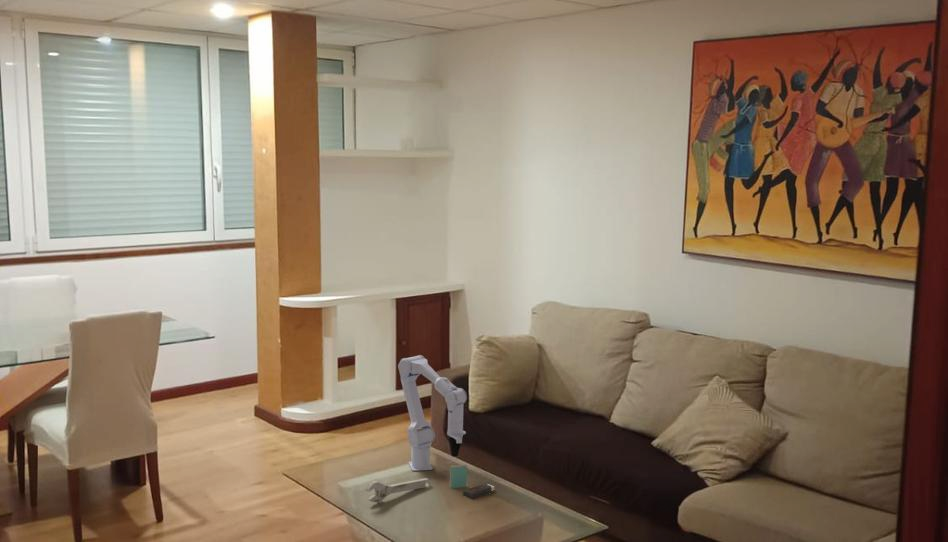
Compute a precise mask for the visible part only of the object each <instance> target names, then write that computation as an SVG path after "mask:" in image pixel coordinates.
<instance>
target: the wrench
mask: <svg viewBox="0 0 948 542" xmlns="http://www.w3.org/2000/svg"><path fill="white" fill-rule="evenodd" d="M431 483H432V482H431V479H429V478H426V477H425V478H419V479H413V480H408V481H404V482H399V483H394V484H385V483H381V482H380V481H377V480H373V481H371V482H369V483H368V485H366V487H365V491H366V492H372V491H373V490H374V494H372V495H371V496H369V497H368V502H372V503H379V504H381V503H382V502H383V501H384V499H386V498H387V497H388V496H390V495H392V494H396V493H401V492H403V493H404V492H407V491H413V490H419V489H423V488H428V487H430V485H431Z"/></svg>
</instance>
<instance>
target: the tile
mask: <svg viewBox="0 0 948 542" xmlns="http://www.w3.org/2000/svg"><path fill="white" fill-rule="evenodd" d="M467 471H468V465H467V464H457V465H456V464H455V465H450V466H449V488H450V489H454V488H467V477H468V476H467V475H468V474H467V473H468V472H467Z"/></svg>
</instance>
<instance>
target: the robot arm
mask: <svg viewBox="0 0 948 542" xmlns="http://www.w3.org/2000/svg"><path fill="white" fill-rule="evenodd" d="M397 368H398V371H399V376H400V382H401V386H402V391H403V394H404V398H405V402H406V405H407V411H408V415H409V419H410V422H411V423H410V425H409V426H408V427H407V430H406V431H407V441H408V443H409V444H410V446H411V449H410V450H411V451H410V453H411V454H410V455H411V458H410V459H411V460H410V461H408V465H409V467H410V468H411V470H412V471H413V472H416V471H417V472H418V471H432V470H433V466H432V465H431V445H432V443H433V441H434V440H435V438H436V433H435V430H434V429H433V427H432V424H431V422H429V421H428V420H426V418H425V414H424V411H423V407H422V403H421V399H420V395H419V390H418V387H417V383H416V381H417V379H418V377H419V376H420V375H421V376H423V377H424V378H426V379H427V380H429V381H430V382H431V383H432V384H434V390H435V391H437V392H438V393H439V394H440V395H442V397H443V398H444V399H445V402H446V408H447V412H448V413H447V431H446V435H447V436H446V439H447V441H448V445H449V450H450V456H452V458H453V457H459V452H460V448H461V445H462V444H463V442H464V438H463V436H464V435H466V434H467V432H466V431H465V430H464V404H465V403H467V400H468V395H467V392H466V391H465V389H464V388H462V387H457V386H456V385H455V384H453V383H452V382H451V381H450V380H449V378H448V377H445V376H442V377H441V376H440V375H439V373H437V372H436V371H435V369H434V368H432V366H431V365H429V362H428V359H427V358H425V357H424V355H421V354H418V355H414V356H410V357H404V358H401V359H400V361H399V362H398V365H397Z"/></svg>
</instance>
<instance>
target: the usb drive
mask: <svg viewBox="0 0 948 542" xmlns="http://www.w3.org/2000/svg"><path fill="white" fill-rule="evenodd" d="M495 487H496V486H494V485H492V484H489V483H482V484H480V485H479V484H478V485H476V486H473V487H469V488H467V489H465V490H463V491H462V496H463V497H466V498H468V499H469V500H476V499H479V498H482V497H485V496H487V494H488V495H490V494H492V492H491V491H493V490H495V489H496V488H495ZM495 491H496V490H495ZM493 492H494V491H493ZM489 493H490V494H489Z"/></svg>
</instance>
